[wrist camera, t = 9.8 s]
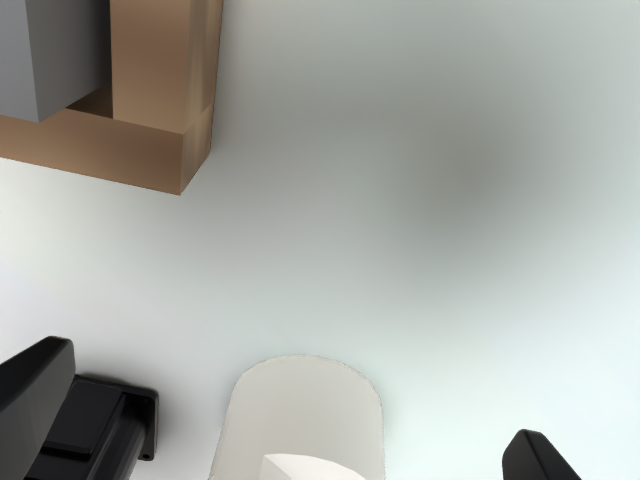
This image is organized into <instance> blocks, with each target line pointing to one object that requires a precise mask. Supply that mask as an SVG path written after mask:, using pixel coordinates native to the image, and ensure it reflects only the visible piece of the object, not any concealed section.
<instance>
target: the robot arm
mask: <svg viewBox="0 0 640 480" xmlns="http://www.w3.org/2000/svg"><path fill="white" fill-rule="evenodd" d="M74 375H75V357H74V346H73V342H72V341H71V340H70V339H67V338H62V337H57V336H48V337H46V338H44V339H42V340H40V341H39V342H37V343H35V344H34V345H32V346H30V347H29V348H27V349H25V350H24V351H22V352H20V353H18V354H17V355H15V356H13V357H12V358H10V359H8V360H7V361H5V362H3V363H1V364H0V480H129V478H130V475H131V473H132V471H133V468H134V466H135V463H136V461H137V459H139V460H144V461H152V460H153V459H154V456H155V454H156V438H157V410H158V396H157V395H156V394H155V393H154V392H152V391H148V390H143V389H138V388H132V387H127V386H122V385H117V384H112V383H107V382H101V381H96V380H91V379H86V378H81V377H76V376H74ZM502 469H503V480H582V479H581V478H580V477H579V476H578V475H577V473H576V472H575V471H574V470H573V469H572V467H571V466H570V465H569V464H568V463H567V462H566V460H565V459H564V458H563V457H562V456H561V454H560V453H559V452H558V451H557V450H556V448H555V447H554V446H553V445H552V444H551V443H550V441H549V440H548V439H547V438H546V437H545V436H544V435H543V434H542V433H540V432H537V431H532V430H527V429H521V430H519V431H518V432H517V434H516V435H515V436H514V438H513V439H512V441H511V442H510V444H509V445H508V447H507V448H506V450H505V451H504V454H503V458H502Z"/></svg>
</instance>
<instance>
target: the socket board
mask: <svg viewBox="0 0 640 480" xmlns="http://www.w3.org/2000/svg"><path fill="white" fill-rule="evenodd" d="M222 7H223V0H110V19H111V56H112V80H111V81H110V82H108V83H106V84H105V85H103V86H101V87H99V88H98V89H96V90H94V91H93V92H91V93H89V94H87V95H86V96H84V97H82V98H81V99H79V100H77V101H75V102H74V103H72V104H70V105H69V106H67V107H65V108H63V109H62V110H60V111H58V112H57V113H55V114H53V115H51V116H50V117H48V118H46V119H45V120H43V121H41V122H39V123H37V122H32V121H27V120H23V119H18V118H14V117H9V116H5V115H0V157H2V158H7V159H12V160H16V161H21V162H26V163H30V164H35V165H40V166H44V167H49V168H54V169H58V170H63V171H68V172H72V173H77V174H82V175H86V176H91V177H96V178H100V179H105V180H110V181H114V182H119V183H124V184H128V185H133V186H138V187H142V188H147V189H152V190H156V191H161V192H166V193H170V194H175V195H181V193H182V192H183V191H184V189H185V188H186V186H187V185H188V183H189V182H190V180H191V179H192V178H193V176H194V175H195V173H196V172H197V170H198V169H199V167H200V166H201V165H202V163H203V162H204V160H205V159H206V157H207V156H208V154H209V153H210V144H211V133H212V122H213V110H214V99H215V87H216V76H217V64H218V53H219V42H220V30H221V19H222Z"/></svg>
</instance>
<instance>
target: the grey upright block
mask: <svg viewBox="0 0 640 480" xmlns="http://www.w3.org/2000/svg"><path fill="white" fill-rule="evenodd" d="M111 80H112V56H111V19H110V0H0V115H5V116H9V117H14V118H18V119H23V120H27V121H32V122H37V123H39V122H41V121H43V120H45V119H46V118H48V117H50V116H51V115H53V114H55V113H57V112H58V111H60V110H62V109H63V108H65V107H67V106H69V105H70V104H72V103H74V102H75V101H77V100H79V99H81V98H82V97H84V96H86V95H87V94H89V93H91V92H93V91H94V90H96V89H98V88H99V87H101V86H103V85H105V84H106V83H108V82H110V81H111Z"/></svg>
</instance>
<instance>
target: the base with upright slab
mask: <svg viewBox="0 0 640 480" xmlns="http://www.w3.org/2000/svg"><path fill="white" fill-rule="evenodd" d="M208 480H385V459H384V437H383V416H382V406H381V402H380V398H379V395H378V393H377V392H376V390H375V389H374V387H373V386H372V384H371V383H370V382H369V381H368V380H367V379H366V378H365V377H363V376H362V375H361V374H360V373H359V372H357V371H356V370H354V369H352V368H350V367H348V366H346V365H344V364H342V363H340V362H338V361H334V360H331V359H327V358H323V357H319V356H310V355H288V356H280V357H274V358H272V359H269V360H266V361H263V362H260V363H258V364H256V365H255V366H253V367H252V368H250V369H249V370H247V371H246V372H244V373H243V375H242V376H241V377H240V378H239V380H238V381H237V382H236V383H235V386H234V389H233V392H232V396H231V399H230V403H229V406H228V410H227V413H226V417H225V421H224V424H223V428H222V431H221V435H220V438H219V442H218V446H217V449H216V453H215V456H214V460H213V463H212V467H211V471H210V474H209V478H208Z"/></svg>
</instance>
